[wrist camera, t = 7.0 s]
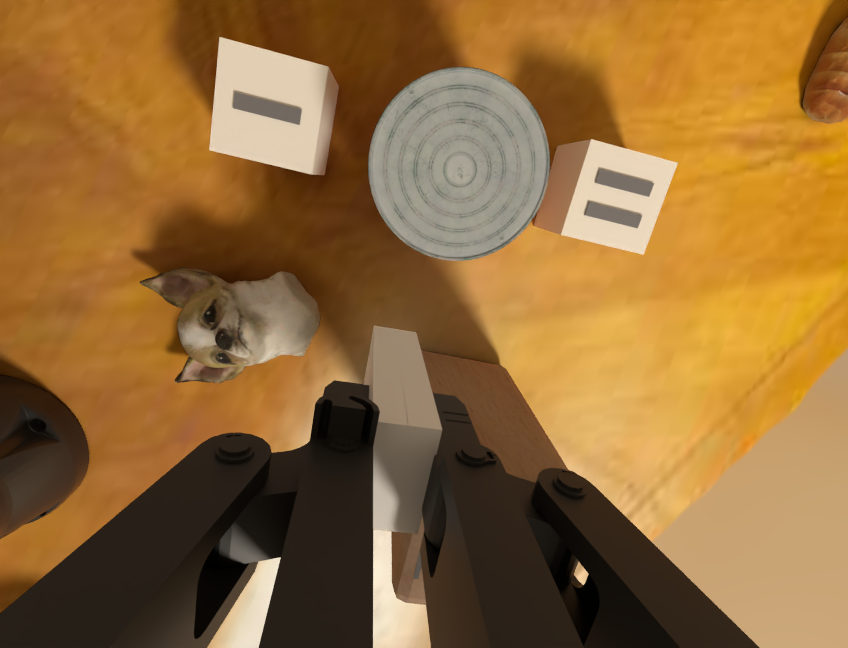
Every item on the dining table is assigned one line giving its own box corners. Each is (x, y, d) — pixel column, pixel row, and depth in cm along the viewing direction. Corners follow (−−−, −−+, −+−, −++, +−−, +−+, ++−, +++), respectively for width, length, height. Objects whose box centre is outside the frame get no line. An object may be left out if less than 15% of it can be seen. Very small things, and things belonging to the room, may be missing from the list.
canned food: (529, 168, 40) (586, 164, 28) (442, 263, 42) (462, 295, 30) (436, 68, 37) (457, 19, 25) (346, 176, 39) (329, 175, 27)
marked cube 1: (533, 225, 41) (561, 234, 35) (557, 145, 39) (592, 138, 33) (603, 242, 42) (644, 255, 36) (630, 165, 40) (678, 162, 34)
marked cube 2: (240, 155, 38) (208, 150, 31) (250, 63, 36) (218, 36, 29) (324, 175, 39) (311, 174, 32) (339, 86, 37) (328, 65, 30)
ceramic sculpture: (327, 392, 35) (141, 420, 36) (344, 352, 44) (193, 375, 44) (294, 257, 32) (90, 290, 33) (319, 241, 40) (156, 268, 41)
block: (409, 344, 44) (425, 471, 25) (507, 363, 45) (593, 496, 26) (388, 433, 47) (388, 608, 28) (481, 448, 48) (541, 625, 29)
